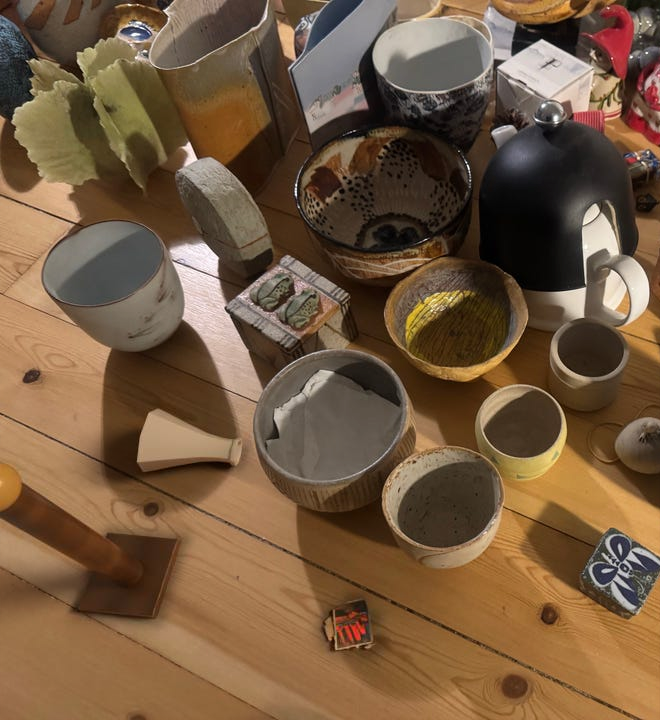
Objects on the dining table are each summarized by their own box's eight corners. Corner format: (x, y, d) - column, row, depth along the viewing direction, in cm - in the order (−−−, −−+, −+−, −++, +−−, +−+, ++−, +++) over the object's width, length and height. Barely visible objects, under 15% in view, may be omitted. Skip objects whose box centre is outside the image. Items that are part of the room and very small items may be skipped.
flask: (150, 473, 82) (238, 485, 83) (129, 469, 75) (225, 482, 76) (165, 412, 84) (250, 424, 85) (145, 402, 77) (238, 416, 78)
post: (82, 610, 73) (-105, 524, 51) (111, 535, 78) (-50, 425, 55) (156, 618, 73) (0, 533, 50) (181, 541, 77) (47, 432, 54)
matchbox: (363, 594, 73) (362, 593, 73) (381, 641, 71) (381, 640, 70) (320, 615, 72) (319, 614, 72) (337, 664, 70) (336, 663, 69)
